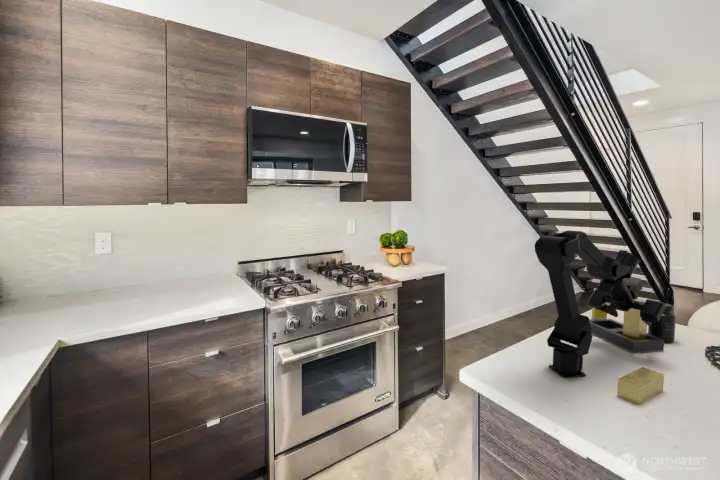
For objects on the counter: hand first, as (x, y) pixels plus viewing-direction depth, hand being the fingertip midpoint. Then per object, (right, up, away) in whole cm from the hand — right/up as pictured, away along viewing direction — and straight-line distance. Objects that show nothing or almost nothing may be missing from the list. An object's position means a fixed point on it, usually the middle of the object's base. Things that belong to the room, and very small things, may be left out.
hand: (633, 320), depth 113 cm
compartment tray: (+1, -8, +7) cm, 11 cm away
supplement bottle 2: (+14, -8, +6) cm, 18 cm away
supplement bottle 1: (+5, -6, +24) cm, 26 cm away
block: (-18, -12, -26) cm, 34 cm away
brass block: (+1, -8, +2) cm, 8 cm away
